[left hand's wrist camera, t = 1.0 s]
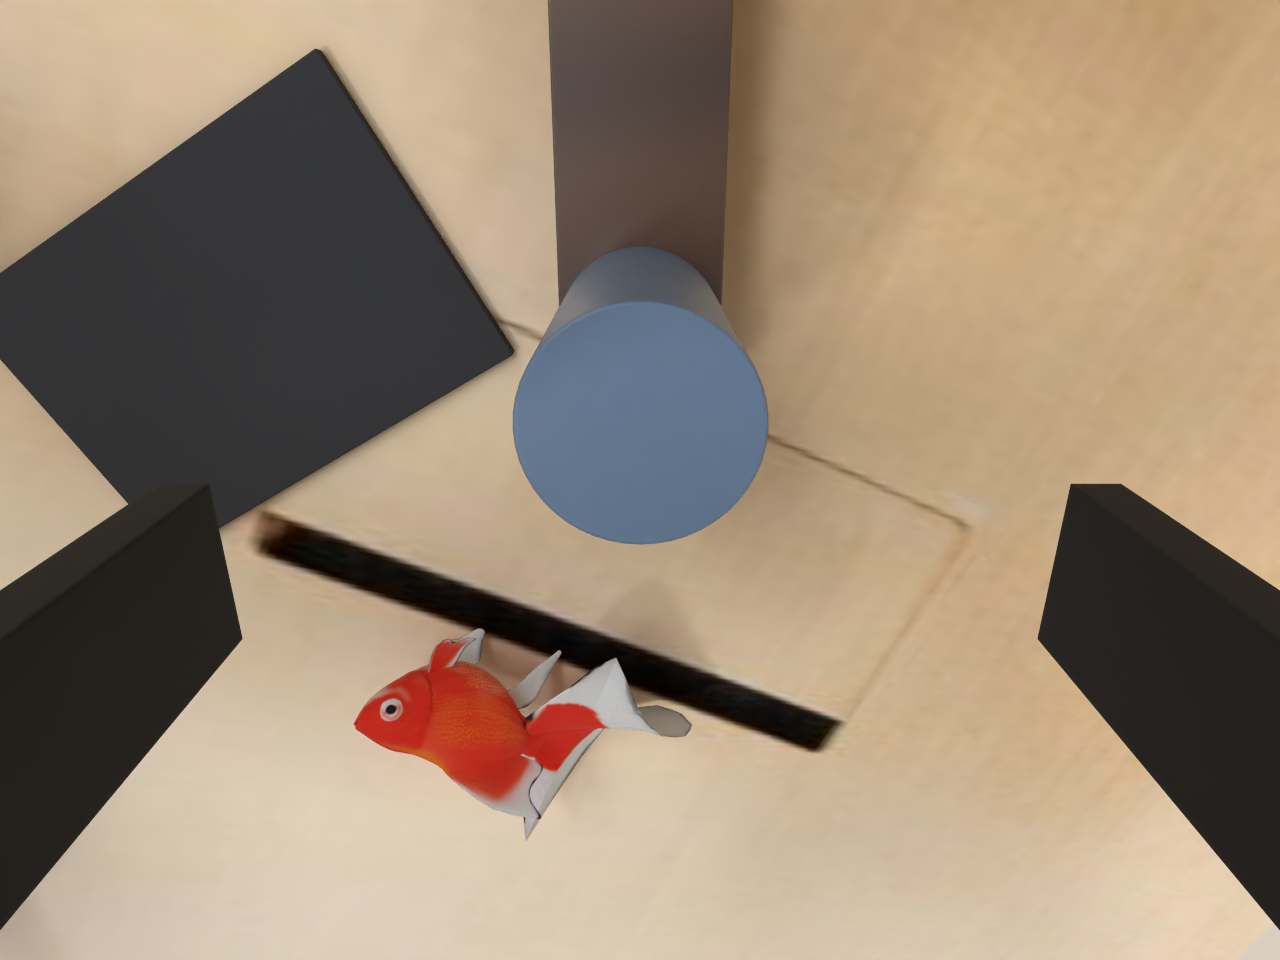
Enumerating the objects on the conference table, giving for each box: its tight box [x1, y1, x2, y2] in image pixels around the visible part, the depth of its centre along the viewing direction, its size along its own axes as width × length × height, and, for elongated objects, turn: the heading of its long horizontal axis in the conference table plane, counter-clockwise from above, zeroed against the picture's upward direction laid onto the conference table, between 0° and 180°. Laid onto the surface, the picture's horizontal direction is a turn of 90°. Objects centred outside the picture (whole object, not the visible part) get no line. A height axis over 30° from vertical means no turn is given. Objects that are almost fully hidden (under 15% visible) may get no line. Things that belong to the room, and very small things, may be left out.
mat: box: [0, 49, 514, 528], centre depth 36 cm, size 20×14×1 cm
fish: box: [354, 629, 692, 840], centre depth 39 cm, size 11×16×10 cm
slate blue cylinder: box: [513, 246, 768, 544], centre depth 24 cm, size 6×6×12 cm
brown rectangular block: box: [548, 0, 733, 307], centre depth 30 cm, size 22×6×6 cm, turn 0°
